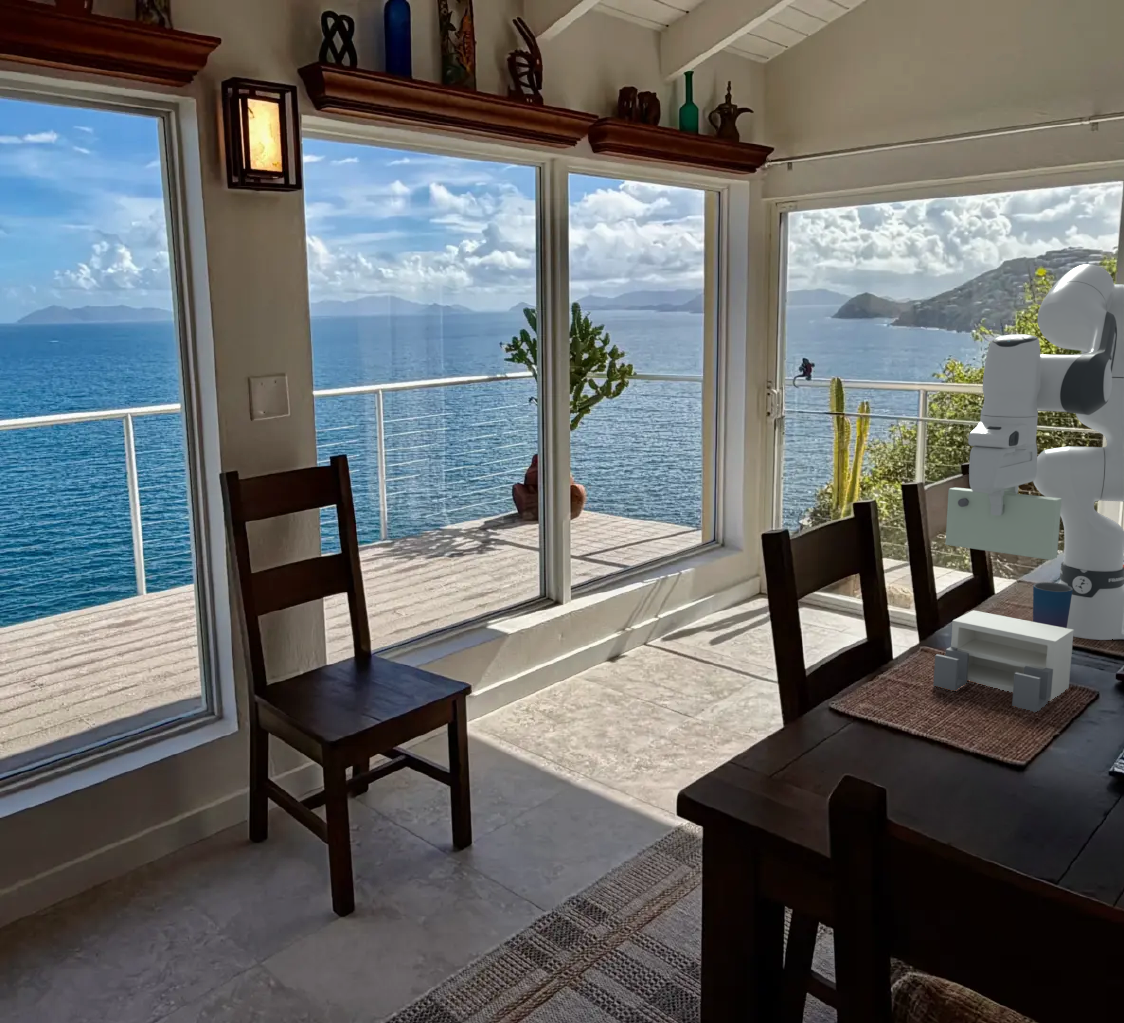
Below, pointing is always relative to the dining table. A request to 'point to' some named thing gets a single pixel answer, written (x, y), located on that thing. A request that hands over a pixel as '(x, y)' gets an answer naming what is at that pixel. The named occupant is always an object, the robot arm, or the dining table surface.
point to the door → (1004, 523)
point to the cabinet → (1007, 657)
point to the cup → (1051, 603)
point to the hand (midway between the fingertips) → (1001, 513)
